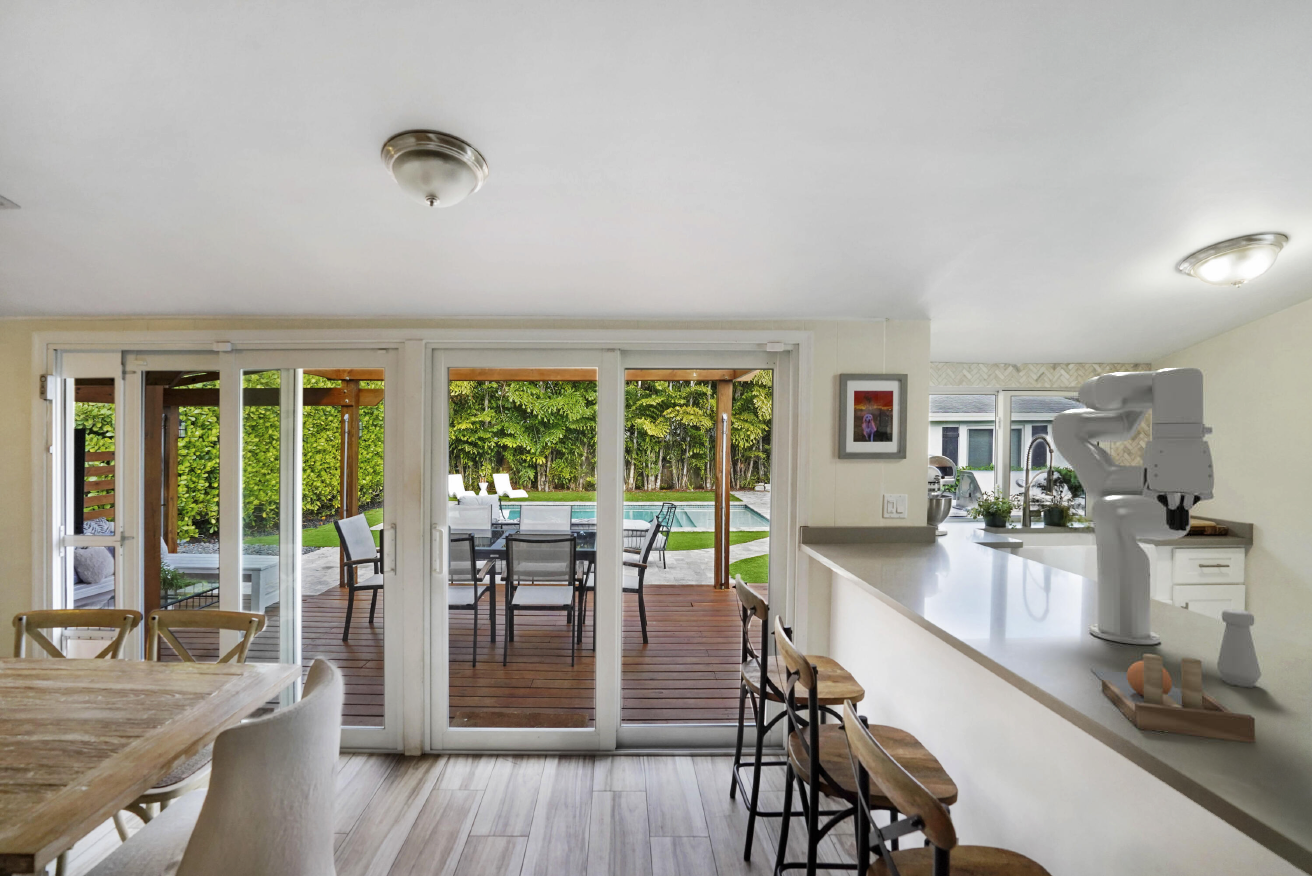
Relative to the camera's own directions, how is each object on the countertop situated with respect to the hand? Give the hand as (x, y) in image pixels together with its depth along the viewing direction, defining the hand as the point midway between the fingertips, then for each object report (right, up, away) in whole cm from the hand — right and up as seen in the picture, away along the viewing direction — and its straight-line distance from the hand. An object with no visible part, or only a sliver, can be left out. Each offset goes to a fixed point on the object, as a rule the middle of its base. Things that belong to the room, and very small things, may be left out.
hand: (1177, 529), depth 119 cm
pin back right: (-20, -26, -19) cm, 38 cm away
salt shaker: (+6, -27, -6) cm, 28 cm away
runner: (-16, -26, -14) cm, 34 cm away
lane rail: (-17, -26, -20) cm, 37 cm away
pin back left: (-15, -26, -21) cm, 37 cm away
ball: (-16, -24, -13) cm, 31 cm away
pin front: (-17, -25, -17) cm, 35 cm away
